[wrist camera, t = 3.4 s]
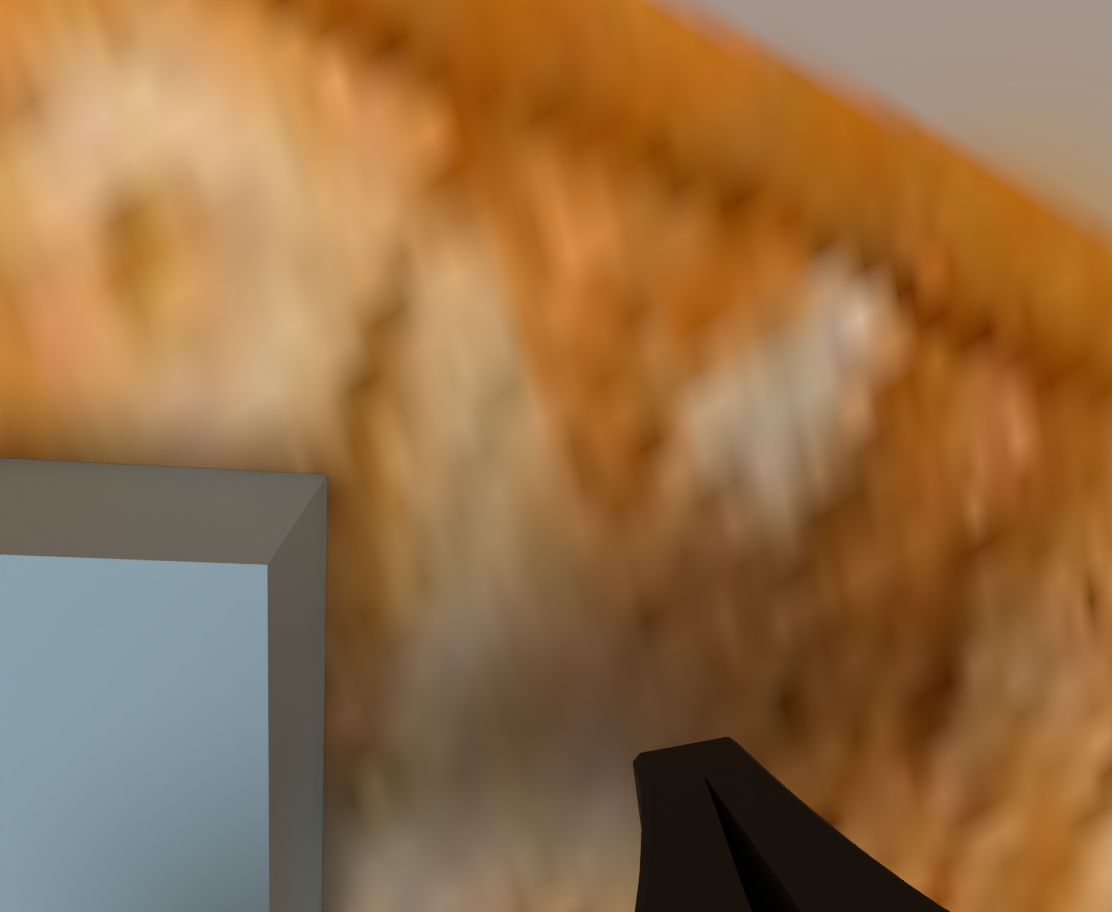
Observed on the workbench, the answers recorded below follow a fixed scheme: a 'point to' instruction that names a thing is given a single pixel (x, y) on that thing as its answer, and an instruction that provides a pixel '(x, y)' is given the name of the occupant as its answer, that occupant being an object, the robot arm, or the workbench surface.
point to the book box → (161, 688)
